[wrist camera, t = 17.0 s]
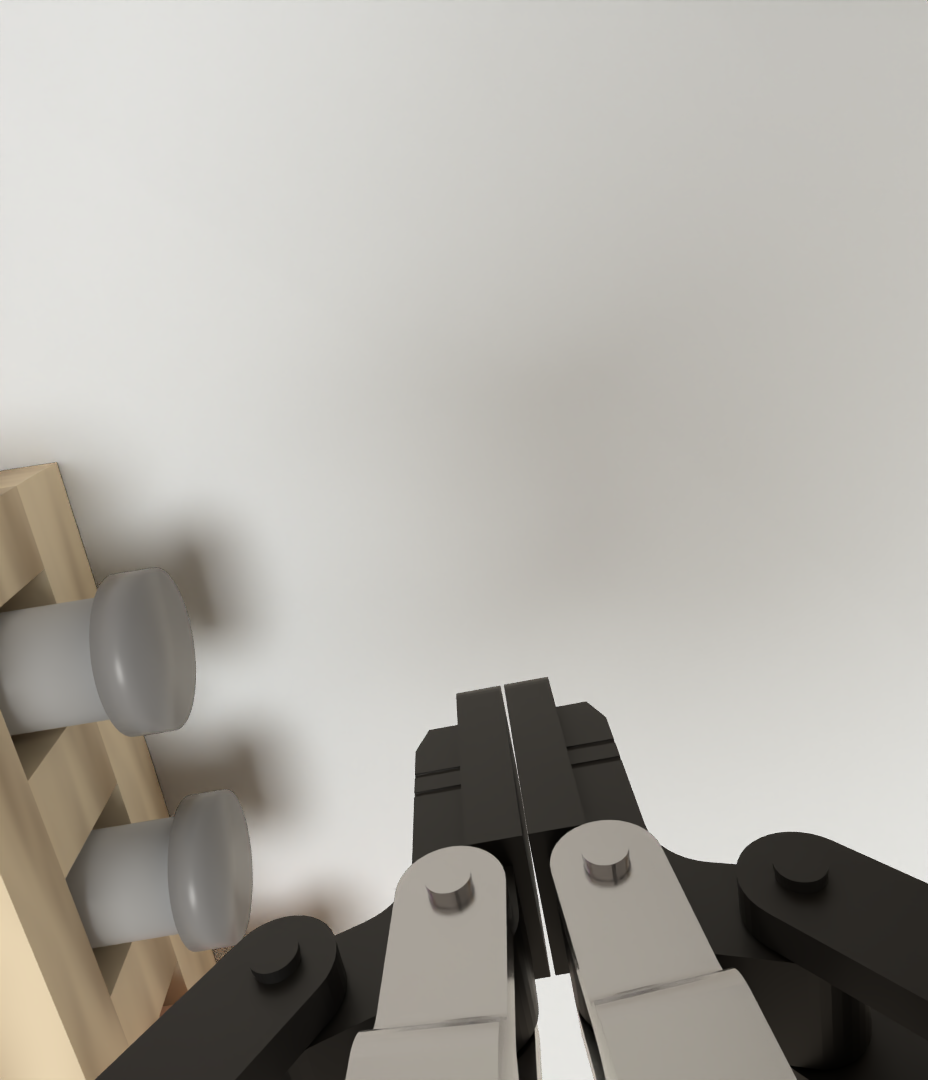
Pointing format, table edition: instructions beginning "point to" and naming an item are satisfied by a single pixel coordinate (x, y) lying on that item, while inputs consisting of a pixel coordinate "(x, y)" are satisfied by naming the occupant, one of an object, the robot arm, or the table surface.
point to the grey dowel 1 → (101, 659)
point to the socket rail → (67, 836)
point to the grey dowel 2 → (168, 877)
